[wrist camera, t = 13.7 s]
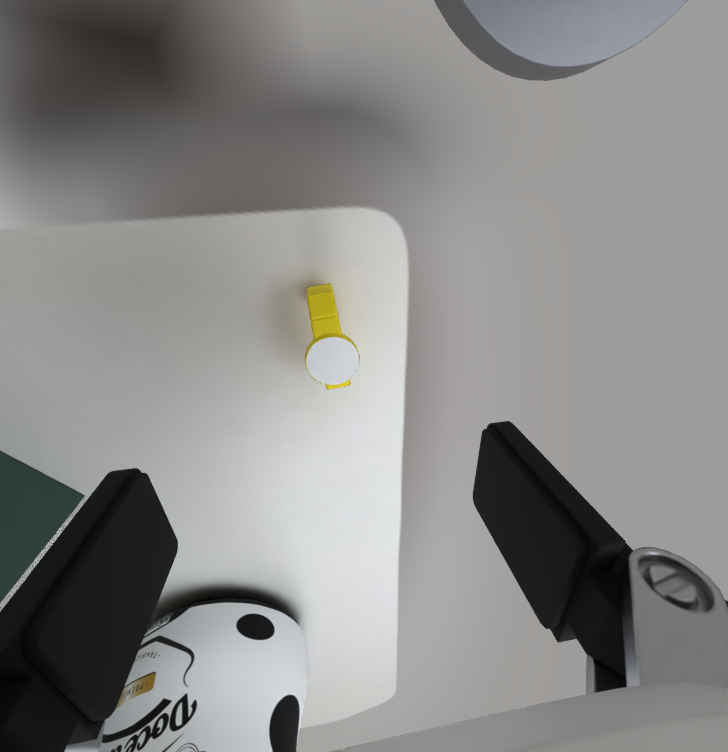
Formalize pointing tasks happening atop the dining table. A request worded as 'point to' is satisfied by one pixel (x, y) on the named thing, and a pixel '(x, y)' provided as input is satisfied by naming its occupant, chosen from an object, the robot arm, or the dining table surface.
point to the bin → (28, 516)
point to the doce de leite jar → (214, 682)
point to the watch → (328, 342)
